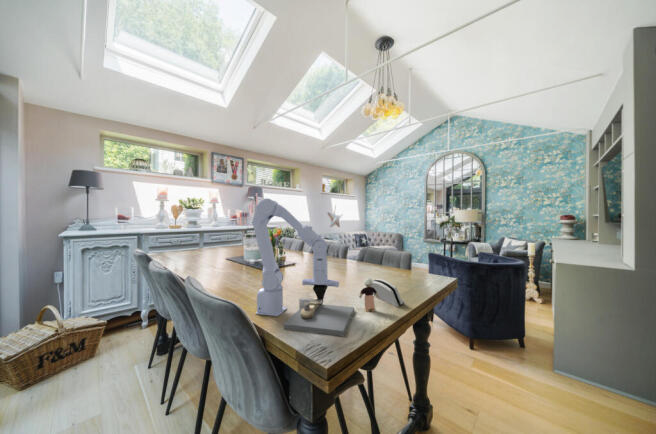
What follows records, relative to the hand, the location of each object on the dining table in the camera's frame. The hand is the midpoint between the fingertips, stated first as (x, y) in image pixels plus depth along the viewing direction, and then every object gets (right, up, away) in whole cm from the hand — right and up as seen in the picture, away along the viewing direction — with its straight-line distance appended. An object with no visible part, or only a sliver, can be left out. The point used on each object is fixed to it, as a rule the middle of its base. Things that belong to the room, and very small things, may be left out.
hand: (320, 304), depth 90 cm
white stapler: (+28, -3, +11) cm, 30 cm away
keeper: (-4, -1, -3) cm, 5 cm away
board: (+1, -3, -8) cm, 8 cm away
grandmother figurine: (+19, -3, 0) cm, 19 cm away
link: (-3, -1, -3) cm, 5 cm away
